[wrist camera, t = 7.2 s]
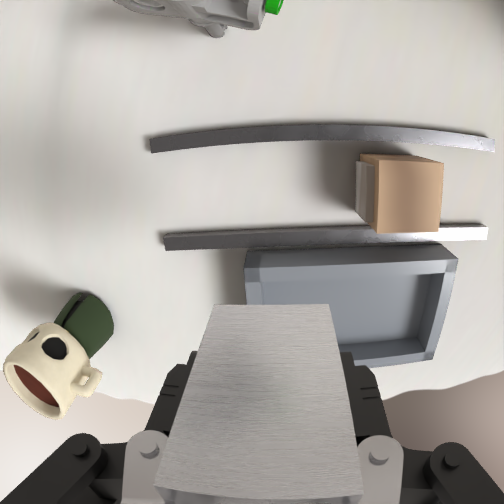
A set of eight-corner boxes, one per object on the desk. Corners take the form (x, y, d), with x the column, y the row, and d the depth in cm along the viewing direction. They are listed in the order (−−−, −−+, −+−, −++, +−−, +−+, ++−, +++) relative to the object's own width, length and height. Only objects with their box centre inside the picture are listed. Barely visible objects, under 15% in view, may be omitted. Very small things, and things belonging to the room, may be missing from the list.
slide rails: (488, 138, 21) (494, 139, 20) (480, 235, 24) (486, 239, 24) (154, 138, 24) (149, 139, 23) (169, 246, 27) (165, 250, 26)
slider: (415, 155, 22) (443, 163, 18) (412, 213, 24) (438, 232, 20) (352, 153, 23) (370, 159, 18) (352, 214, 25) (368, 233, 20)
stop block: (328, 303, 11) (363, 493, 4) (320, 383, 12) (331, 539, 6) (214, 304, 11) (152, 485, 5) (225, 382, 12) (192, 534, 6)
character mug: (131, 294, 30) (66, 382, 18) (139, 348, 32) (92, 436, 20) (51, 280, 30) (-21, 344, 18) (64, 330, 33) (7, 399, 21)
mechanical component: (274, 60, 21) (272, 18, 12) (155, 35, 20) (94, -2, 11) (285, 29, 20) (289, -26, 10) (166, 6, 19) (113, -42, 10)
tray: (440, 244, 25) (458, 258, 22) (421, 339, 29) (432, 359, 26) (247, 250, 27) (243, 268, 24) (256, 350, 31) (253, 373, 28)
